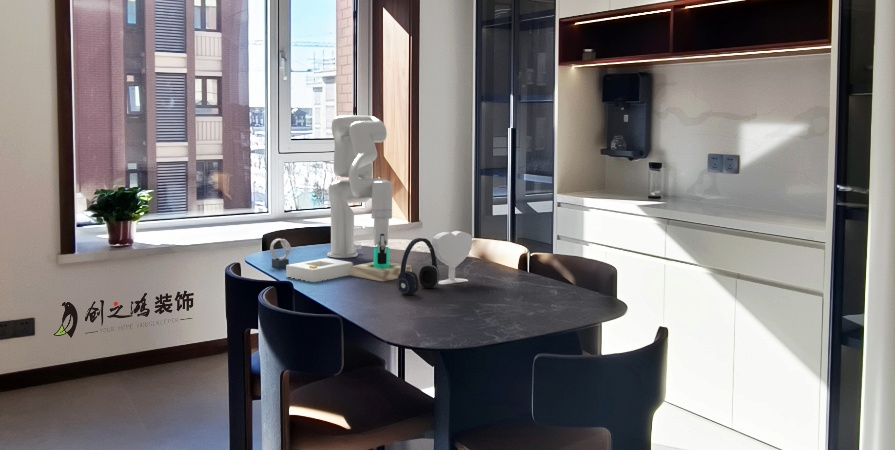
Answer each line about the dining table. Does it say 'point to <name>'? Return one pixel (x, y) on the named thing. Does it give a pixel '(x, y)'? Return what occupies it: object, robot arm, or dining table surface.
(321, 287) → the dining table surface
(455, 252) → the heart sculpture
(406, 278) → the headphones
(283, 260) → the watch
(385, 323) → the dining table surface
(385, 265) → the candle
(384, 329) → the dining table surface
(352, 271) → the beige compartment tray
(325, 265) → the port block
